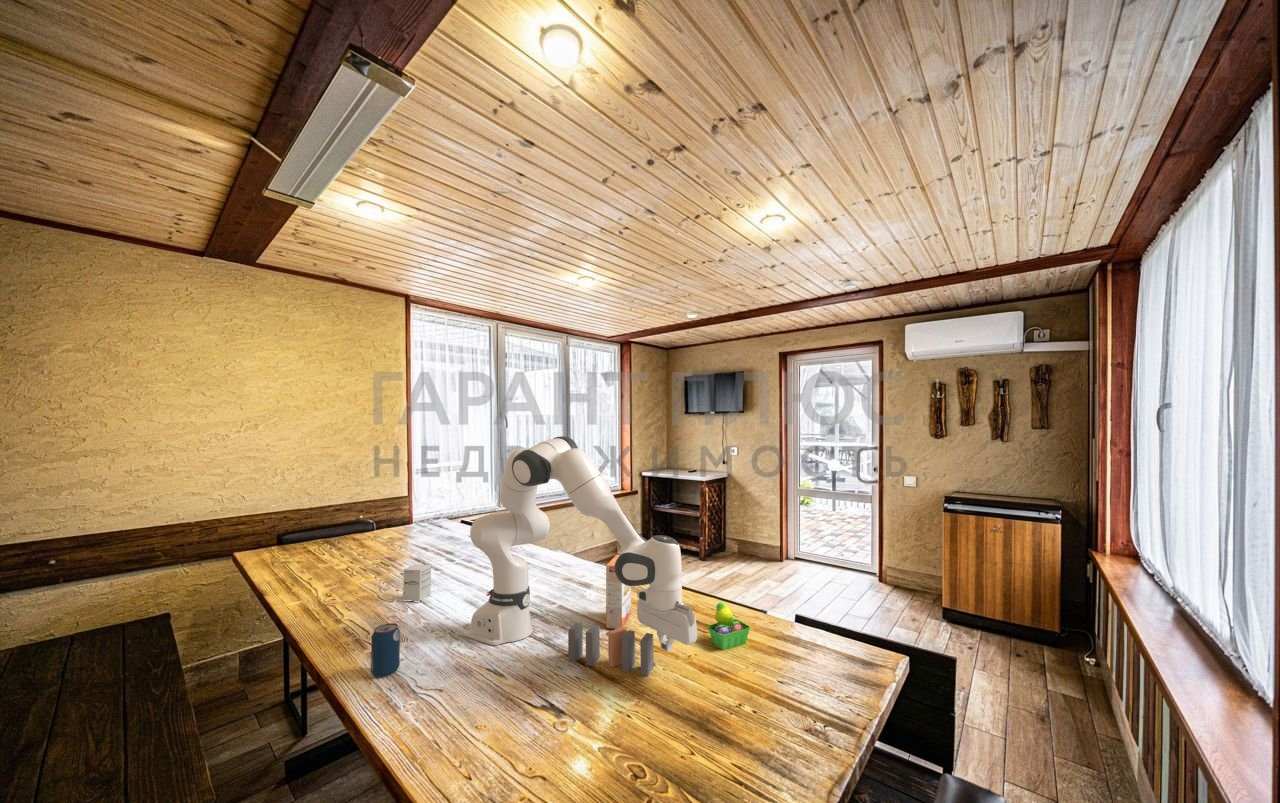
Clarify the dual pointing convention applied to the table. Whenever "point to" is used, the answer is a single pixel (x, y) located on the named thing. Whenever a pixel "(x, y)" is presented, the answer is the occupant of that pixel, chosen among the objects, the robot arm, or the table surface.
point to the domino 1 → (575, 642)
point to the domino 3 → (615, 646)
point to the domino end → (647, 654)
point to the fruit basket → (727, 629)
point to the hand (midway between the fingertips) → (666, 649)
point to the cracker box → (616, 598)
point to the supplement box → (417, 582)
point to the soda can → (385, 650)
